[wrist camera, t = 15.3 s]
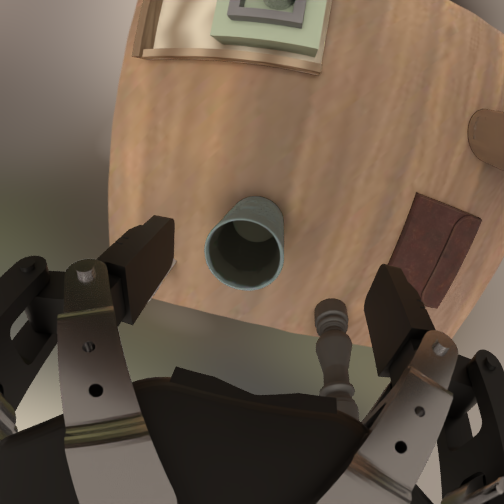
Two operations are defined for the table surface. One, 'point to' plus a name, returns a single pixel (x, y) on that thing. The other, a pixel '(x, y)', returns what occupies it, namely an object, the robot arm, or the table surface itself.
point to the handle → (279, 4)
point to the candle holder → (335, 354)
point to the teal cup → (247, 245)
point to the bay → (208, 37)
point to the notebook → (433, 247)
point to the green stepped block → (270, 25)
